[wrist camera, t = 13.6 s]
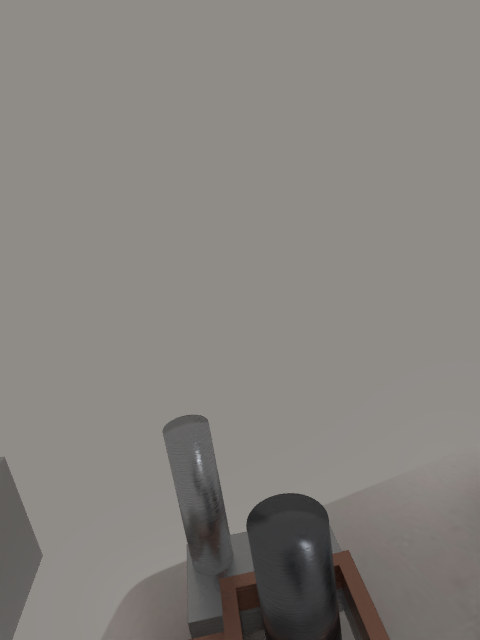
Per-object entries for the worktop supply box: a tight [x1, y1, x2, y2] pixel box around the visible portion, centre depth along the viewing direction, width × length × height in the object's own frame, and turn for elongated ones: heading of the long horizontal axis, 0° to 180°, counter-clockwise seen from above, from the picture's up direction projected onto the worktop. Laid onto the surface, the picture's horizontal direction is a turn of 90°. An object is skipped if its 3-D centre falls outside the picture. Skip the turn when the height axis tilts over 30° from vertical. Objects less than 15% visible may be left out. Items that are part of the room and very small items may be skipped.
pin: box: [246, 493, 342, 640], centre depth 27 cm, size 4×4×16 cm
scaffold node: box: [163, 415, 390, 640], centre depth 29 cm, size 16×15×18 cm
